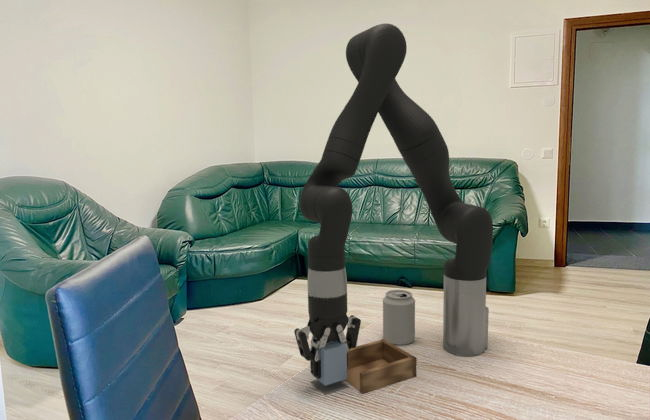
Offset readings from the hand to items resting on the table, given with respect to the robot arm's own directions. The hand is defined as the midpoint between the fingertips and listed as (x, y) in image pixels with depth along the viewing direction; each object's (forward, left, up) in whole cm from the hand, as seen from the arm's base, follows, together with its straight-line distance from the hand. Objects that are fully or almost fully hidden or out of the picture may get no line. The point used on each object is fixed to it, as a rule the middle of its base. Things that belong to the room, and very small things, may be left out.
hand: (329, 373), depth 98 cm
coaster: (0, 0, -3) cm, 3 cm away
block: (0, 0, -1) cm, 1 cm away
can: (-25, -10, -3) cm, 27 cm away
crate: (-10, +1, -3) cm, 10 cm away
